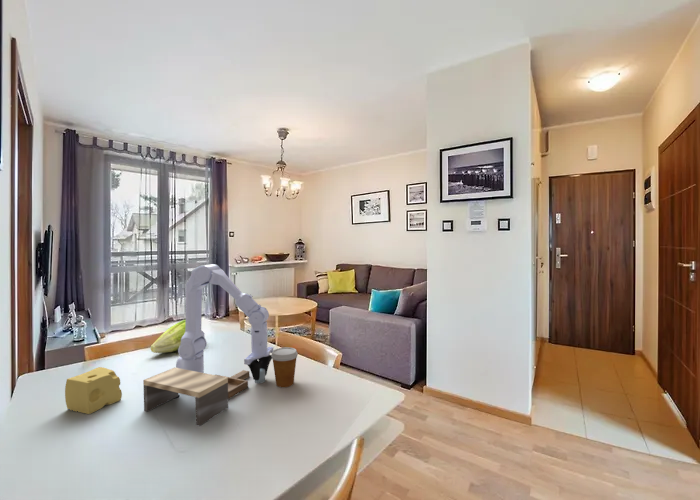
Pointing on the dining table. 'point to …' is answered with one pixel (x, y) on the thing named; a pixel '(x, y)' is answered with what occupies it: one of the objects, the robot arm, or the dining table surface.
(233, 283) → the robot arm
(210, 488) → the dining table surface
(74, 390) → the cheese
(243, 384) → the tray
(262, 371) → the pale blue capsule
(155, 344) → the lettuce
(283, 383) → the disposable coffee cup
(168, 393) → the counter shelf
